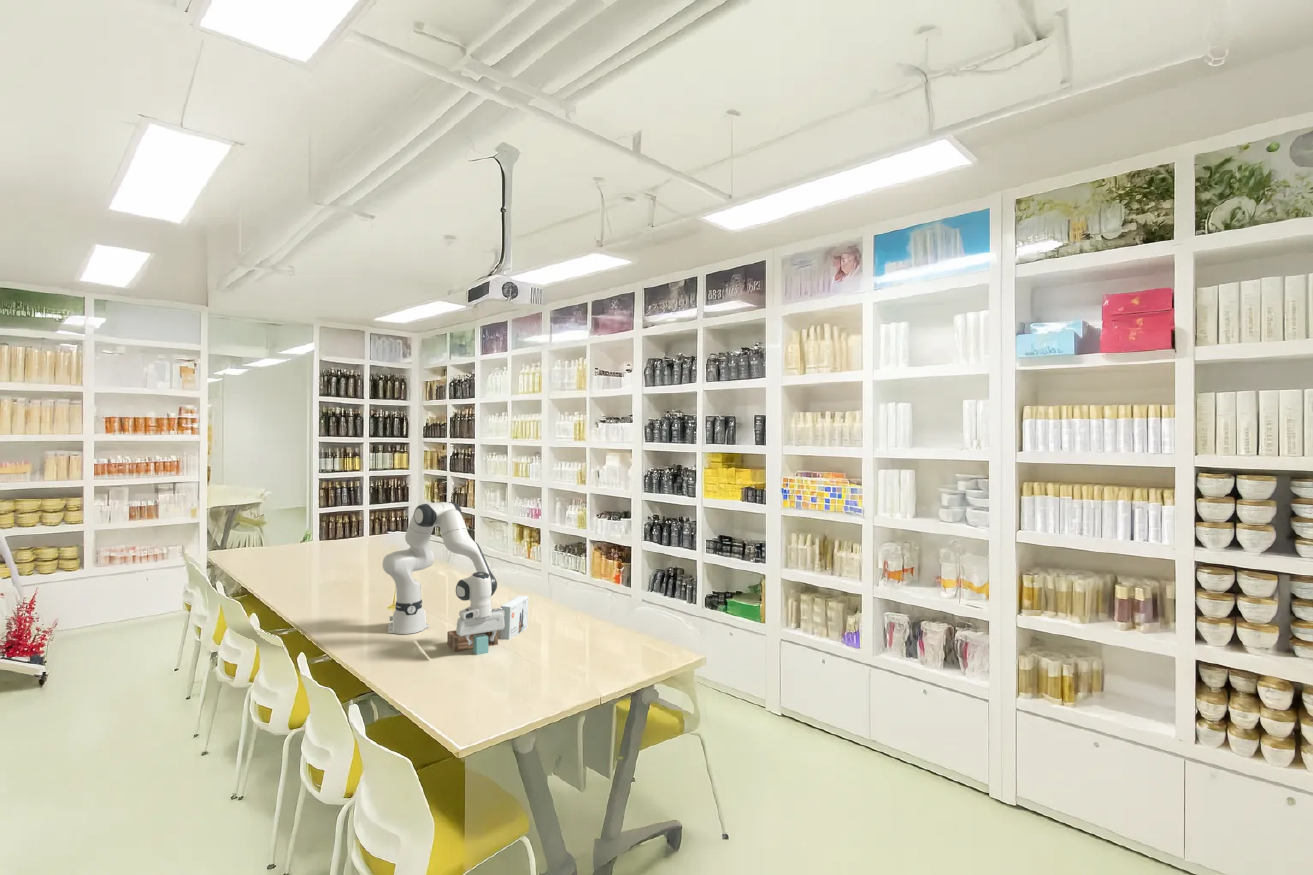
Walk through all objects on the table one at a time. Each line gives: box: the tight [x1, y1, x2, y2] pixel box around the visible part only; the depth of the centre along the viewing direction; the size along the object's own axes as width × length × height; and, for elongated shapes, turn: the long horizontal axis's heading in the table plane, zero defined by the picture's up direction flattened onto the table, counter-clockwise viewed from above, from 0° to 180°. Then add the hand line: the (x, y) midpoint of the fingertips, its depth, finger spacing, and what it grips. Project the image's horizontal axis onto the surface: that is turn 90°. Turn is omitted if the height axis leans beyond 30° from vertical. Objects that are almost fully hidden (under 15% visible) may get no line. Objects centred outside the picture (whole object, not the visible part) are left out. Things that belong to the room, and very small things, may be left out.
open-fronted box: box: [446, 629, 499, 653], centre depth 281 cm, size 12×19×6 cm, turn 123°
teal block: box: [472, 634, 489, 656], centre depth 271 cm, size 5×5×7 cm
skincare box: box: [499, 595, 529, 640], centre depth 299 cm, size 21×6×16 cm, turn 168°
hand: (480, 642), depth 271 cm, fingers open, 8 cm apart
